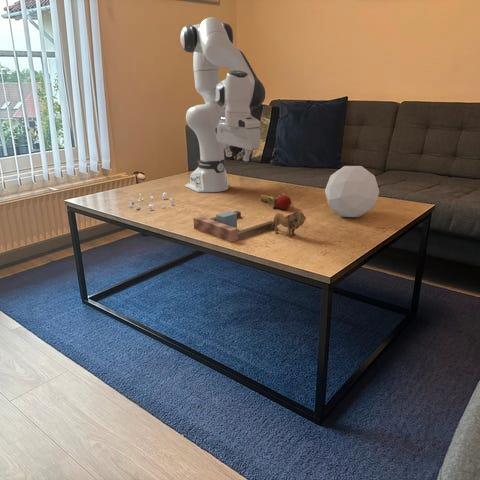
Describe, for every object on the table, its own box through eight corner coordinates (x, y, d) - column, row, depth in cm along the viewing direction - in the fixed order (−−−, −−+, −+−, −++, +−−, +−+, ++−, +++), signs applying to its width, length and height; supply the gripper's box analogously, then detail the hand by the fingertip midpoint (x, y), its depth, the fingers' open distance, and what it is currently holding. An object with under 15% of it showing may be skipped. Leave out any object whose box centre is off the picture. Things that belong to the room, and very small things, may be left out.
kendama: (254, 206, 195) (279, 210, 180) (255, 191, 194) (280, 193, 179) (269, 206, 199) (295, 210, 184) (270, 191, 198) (296, 194, 183)
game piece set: (157, 196, 209) (156, 188, 208) (184, 204, 195) (183, 195, 194) (119, 205, 196) (118, 196, 195) (145, 214, 183) (144, 205, 181)
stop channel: (194, 228, 164) (193, 217, 163) (237, 215, 177) (237, 205, 176) (231, 242, 150) (230, 230, 149) (275, 227, 164) (275, 216, 162)
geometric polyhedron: (342, 236, 173) (316, 199, 164) (340, 204, 188) (316, 168, 178) (390, 216, 165) (365, 176, 155) (384, 184, 179) (361, 146, 170)
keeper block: (216, 231, 161) (216, 214, 159) (229, 227, 165) (229, 211, 163) (224, 233, 158) (223, 217, 156) (237, 229, 162) (236, 213, 160)
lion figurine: (307, 236, 154) (308, 210, 151) (299, 240, 150) (300, 214, 147) (272, 227, 163) (272, 203, 160) (263, 232, 159) (263, 207, 156)
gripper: (212, 117, 167) (212, 155, 173) (250, 123, 153) (249, 164, 159) (225, 116, 171) (225, 153, 177) (263, 122, 157) (262, 162, 162)
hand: (237, 158), depth 167 cm, fingers open, 8 cm apart
